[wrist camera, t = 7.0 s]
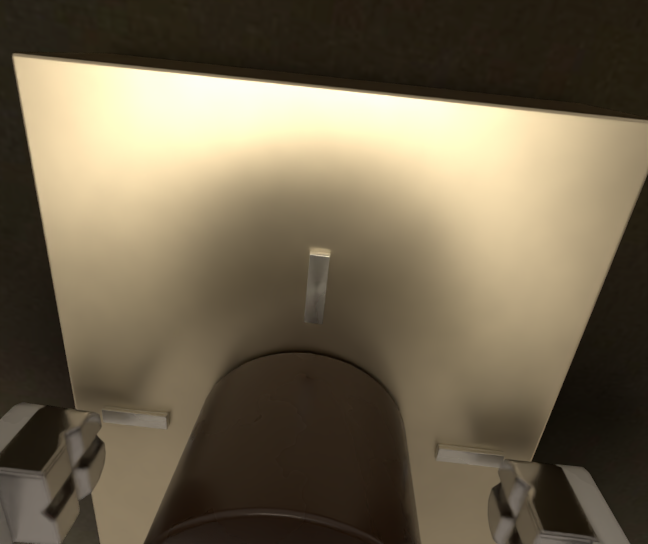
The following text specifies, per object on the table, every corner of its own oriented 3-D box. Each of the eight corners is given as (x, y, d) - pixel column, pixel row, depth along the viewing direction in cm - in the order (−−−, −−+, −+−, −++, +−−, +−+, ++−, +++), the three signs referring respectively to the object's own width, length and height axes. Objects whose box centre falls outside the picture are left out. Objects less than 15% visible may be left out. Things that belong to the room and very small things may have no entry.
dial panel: (441, 537, 16) (461, 646, 13) (151, 503, 16) (106, 603, 13) (580, 103, 9) (678, 122, 7) (105, 52, 10) (0, 50, 7)
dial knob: (422, 363, 9) (466, 558, 5) (388, 515, 11) (405, 731, 7) (197, 339, 9) (99, 516, 5) (203, 494, 11) (133, 698, 7)
